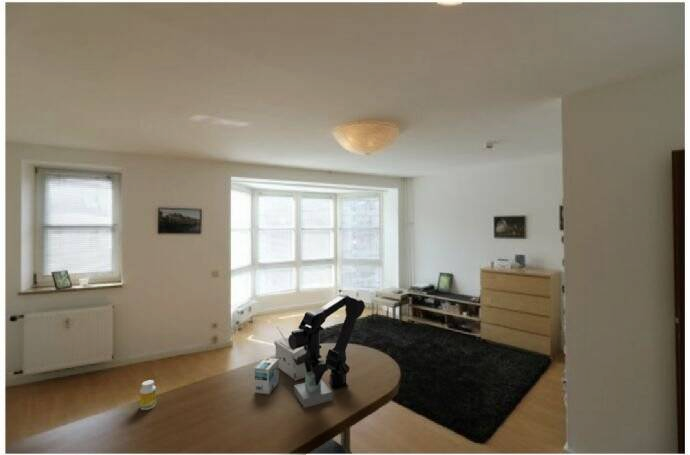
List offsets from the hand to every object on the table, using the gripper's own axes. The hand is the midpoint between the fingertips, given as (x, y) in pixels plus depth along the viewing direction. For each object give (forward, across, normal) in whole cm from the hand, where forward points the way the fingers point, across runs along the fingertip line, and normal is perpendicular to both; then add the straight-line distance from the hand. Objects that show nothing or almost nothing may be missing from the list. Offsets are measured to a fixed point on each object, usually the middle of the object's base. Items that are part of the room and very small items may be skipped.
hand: (312, 379), depth 135 cm
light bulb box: (+8, -16, -15) cm, 23 cm away
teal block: (+4, 0, 0) cm, 4 cm away
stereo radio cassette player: (+8, -25, -1) cm, 26 cm away
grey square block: (+8, 0, 0) cm, 8 cm away
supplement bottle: (+7, -23, -60) cm, 65 cm away
